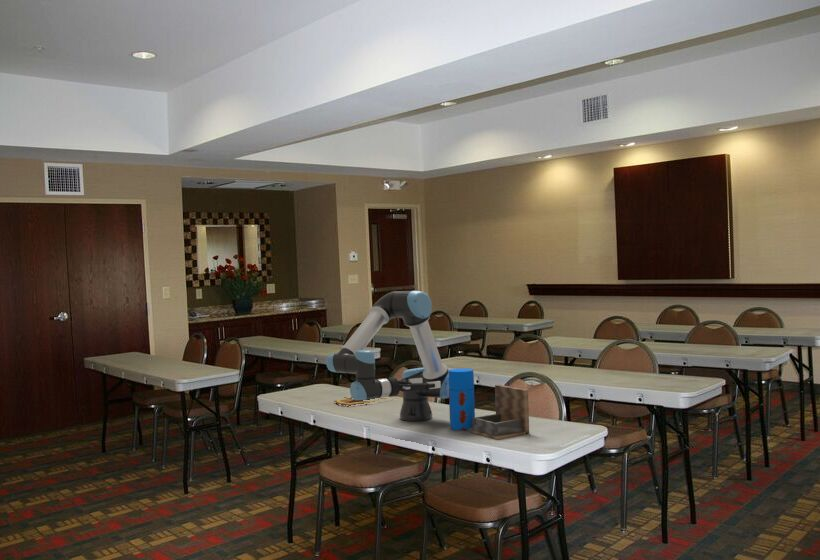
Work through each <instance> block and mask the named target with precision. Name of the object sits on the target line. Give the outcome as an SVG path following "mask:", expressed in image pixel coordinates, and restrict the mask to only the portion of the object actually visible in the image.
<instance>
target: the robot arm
mask: <svg viewBox="0 0 820 560" xmlns="http://www.w3.org/2000/svg"><path fill="white" fill-rule="evenodd" d="M432 306H433V303H432V300H431V298H430V296H429V295H428V294H427V293H426V292H425V291H422V290H421V291H419V290H404V291H403V290H402V291H401V290H400V291H398V290H397V291H396V290H394V291H391V292H390V291H389V292H388V293H386V294H385V295H383V296H382V297H380V298H379V299H378V300H377V301H375V303H374V304H373V305H372V307H371V308H370V309H369V313H368V315H367V316H366V318H364V320H363V321H362V322H361V324H360V325H359V326H358V327H357V329H356V330H355V331H354V332H353V333H352V334H351V335H350V337H349V339H348V340H347V341H346V342H345V343H344V345H343V346H342V347H341V348H340V350H338V352H337V353H331V354H328V356H327V359H326V368H327V370H328V371H330V372H333V373H338V374H339V373H341V374H354V375H355V381H352V382H351V383H350V387H349V393H350V397H351V396H352V398H353V399H354V400H368V399H375V398H380V399H382V397H391V398H392V397H397V396H398V395H399V394H400V392H402V405H401V408H400V412H399V419H400V420H402V421H407V422H408V421H409V422H419V421H420V422H423V421H427V420H431V419H432V418H433V411H432V409H431V406H430V403H429V398H438V399H449V369H448V366H447V365H446V364H445V363H443V361H442V359H441V355H440V353H439V349H438V347H437V344H436V340H435V338H434V334H433V332H432V331H433V330H432V329H431V326H430V323H429V320H430V318H431V314H432V312H433V311H432V310H433V308H432ZM396 318H397V319H398V318H400V319H402V320H403V322H404V326H406V327H409V331H410V333H411V335H412V338H413V341H414V343H415V347H416V349H417V353H418V356H419V358H420V361H421V365H422V367H417V368H416V367H415V368H410V369H406V370H403V372H402V378H401V379H397V378H396V377H387V378H386V377H385V378H377V379H376V359H375V352H374V351H373V350H372V349H365V348H366V347H367V346H368V345H369V343H371V340H373V338H374V336H375V335H376V334H377V333H378V332H379V330H380V329H381V328H382V327H383V326H384V325H386V324H388V323H389V321H390V320H392V319H396Z"/></svg>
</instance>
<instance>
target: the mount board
mask: <svg viewBox="0 0 820 560" xmlns="http://www.w3.org/2000/svg"><path fill="white" fill-rule="evenodd" d="M494 395H495V397H494V398H495V399H494V400H495V413H494V414H486V415H481V416H475V417H474V418H472V428H473V429H468V430H467V431H468V432H469V433H472V434H476V435H480V436H484V437H487V438H490V439H493V440H502V439H509V438H513V436H514V437H519V436H523V435H522V434H524V435H527V434H526V433H529V434H530V414H529V413H530V412H529V411H530V410H529V409H530V408H529V407H530V406H529V389H526V388H525V389H524V388H520V387H513V386H508V385H503V384H495V385H494ZM518 435H519V436H518ZM508 437H509V438H508Z"/></svg>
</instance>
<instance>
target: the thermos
mask: <svg viewBox="0 0 820 560" xmlns="http://www.w3.org/2000/svg"><path fill="white" fill-rule="evenodd" d="M448 371H449V398H448V399H449V400H448V401H449V403H448V405H449V425H450V429H451V430H453V431H460V430H463V431H468V429H473V428H472V418H474V417H476V410H475V374H474V369H472V368H452V369H448Z"/></svg>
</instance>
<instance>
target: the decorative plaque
mask: <svg viewBox="0 0 820 560" xmlns="http://www.w3.org/2000/svg"><path fill="white" fill-rule="evenodd" d="M388 398H392V397H388ZM382 399H387V398H382ZM368 400H370V399H368ZM379 400H381V399H378V400H374V401H363V400H354V399H352V396H351V395H350V396H345V397H343V398H341V399H336V400H334V401H333V403H334V402H336V403H337V404H341V405H348V406H351V405H356V404H364V403H370V402H375V401H379ZM337 404H336V405H337Z"/></svg>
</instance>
